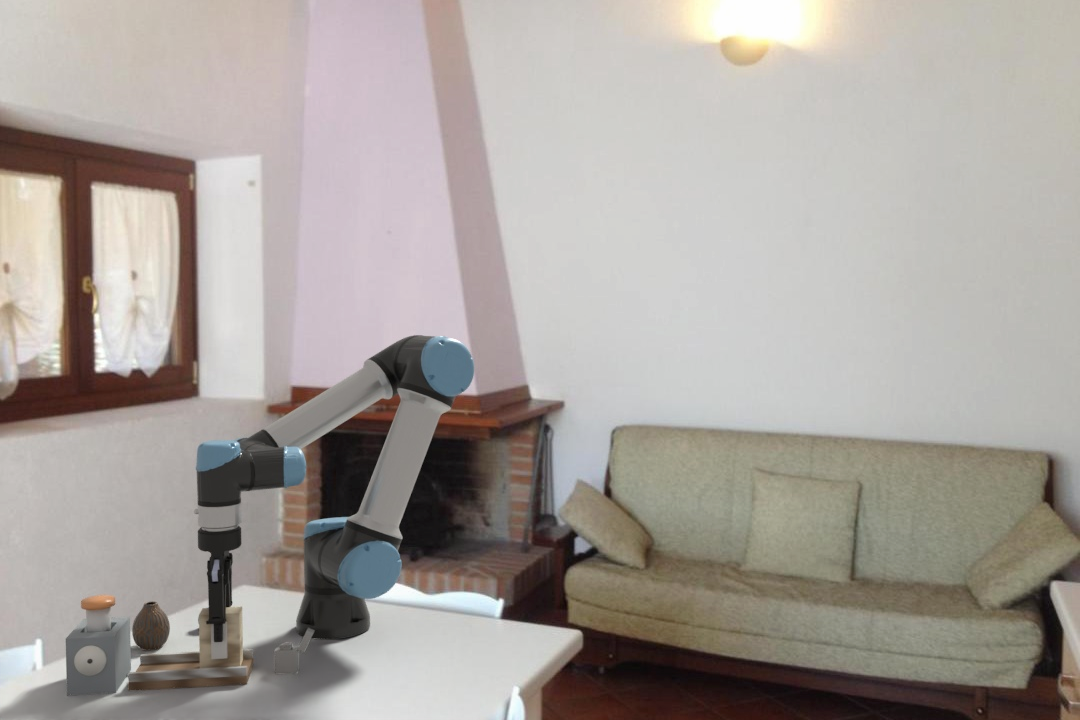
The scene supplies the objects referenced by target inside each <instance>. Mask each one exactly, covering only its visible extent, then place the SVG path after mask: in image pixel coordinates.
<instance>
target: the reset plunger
mask: <svg viewBox="0 0 1080 720" xmlns="http://www.w3.org/2000/svg"><path fill="white" fill-rule="evenodd" d="M115 605H116V596H113V595H111V594H110V595H109V594H103V595H102V594H99V595H93V596H88V597H85V598H83V599H81V600H80V608H81V609H82V610H85V617H86V618H85V619H86V627H87V632H103V631H111V618H112V616H111V614H112V612H111V611H112V610H111V609H112V607H114V606H115Z"/></svg>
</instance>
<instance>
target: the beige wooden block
mask: <svg viewBox="0 0 1080 720" xmlns="http://www.w3.org/2000/svg"><path fill="white" fill-rule="evenodd" d="M198 617H199V623H198V633H199V634H198V636H199V637H198V639H199V640H198V641H199V645H198V646H199V647H198V648H199V650H198V652H200V668H217V667H236V666H241V664H242V661H243V649H244V645H243V644H244V642H243V641H244V638H243V637H244V635H243V634H244V632H243V628H244V627H243V606H231V607H226V622H227V650H228V657H227V658H224V659H211V624H206V621H208V620H209V608H208V607H205V608H204V607H203V608H202V609H201V610H200V612H199V614H198Z"/></svg>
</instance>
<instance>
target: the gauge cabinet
mask: <svg viewBox="0 0 1080 720" xmlns="http://www.w3.org/2000/svg"><path fill="white" fill-rule="evenodd" d="M131 652H132V651H131V617H130V616H119V617H118V616H117V617H116V616H115V617H112V616H111V631H103V632H87V627H86V618H83V619H82V620H81V621H80V622H79V624H77V626H76V627H75V628H74V629H73V630H72V631H71V632H70V633H69V635H68V636H67V637H65V667H66V696H83V694H84V695H96V694H97V695H98V694H99V695H101V693H102V694H116V693H117V692H118V691H119V689H120V687H121V686H122V684H123V683H124V681H125V680H126V678H127V676H128V674H129V672H132V657H131V656H132V653H131ZM81 694H82V695H81Z"/></svg>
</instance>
